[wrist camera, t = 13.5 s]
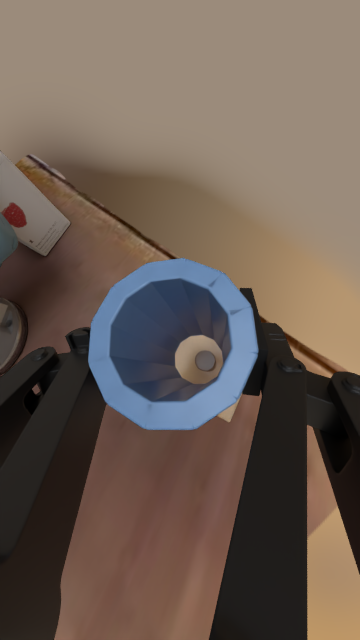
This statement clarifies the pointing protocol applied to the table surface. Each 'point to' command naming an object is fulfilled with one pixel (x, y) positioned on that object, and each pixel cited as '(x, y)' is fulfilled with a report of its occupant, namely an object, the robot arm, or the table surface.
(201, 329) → the blue hollow tube
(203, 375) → the stand
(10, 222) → the white product box
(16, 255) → the table surface
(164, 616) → the table surface
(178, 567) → the table surface
